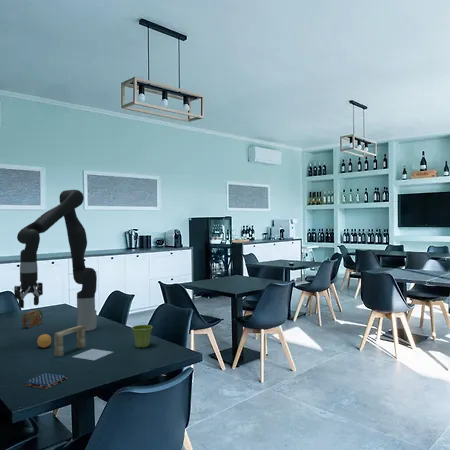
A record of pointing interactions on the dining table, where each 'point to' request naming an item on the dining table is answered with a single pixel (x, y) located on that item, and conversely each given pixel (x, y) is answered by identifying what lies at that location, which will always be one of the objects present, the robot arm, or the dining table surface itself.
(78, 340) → the bridge
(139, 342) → the plant pot
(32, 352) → the dining table surface
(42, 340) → the ball
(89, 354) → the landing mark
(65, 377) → the woven mat
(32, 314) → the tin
